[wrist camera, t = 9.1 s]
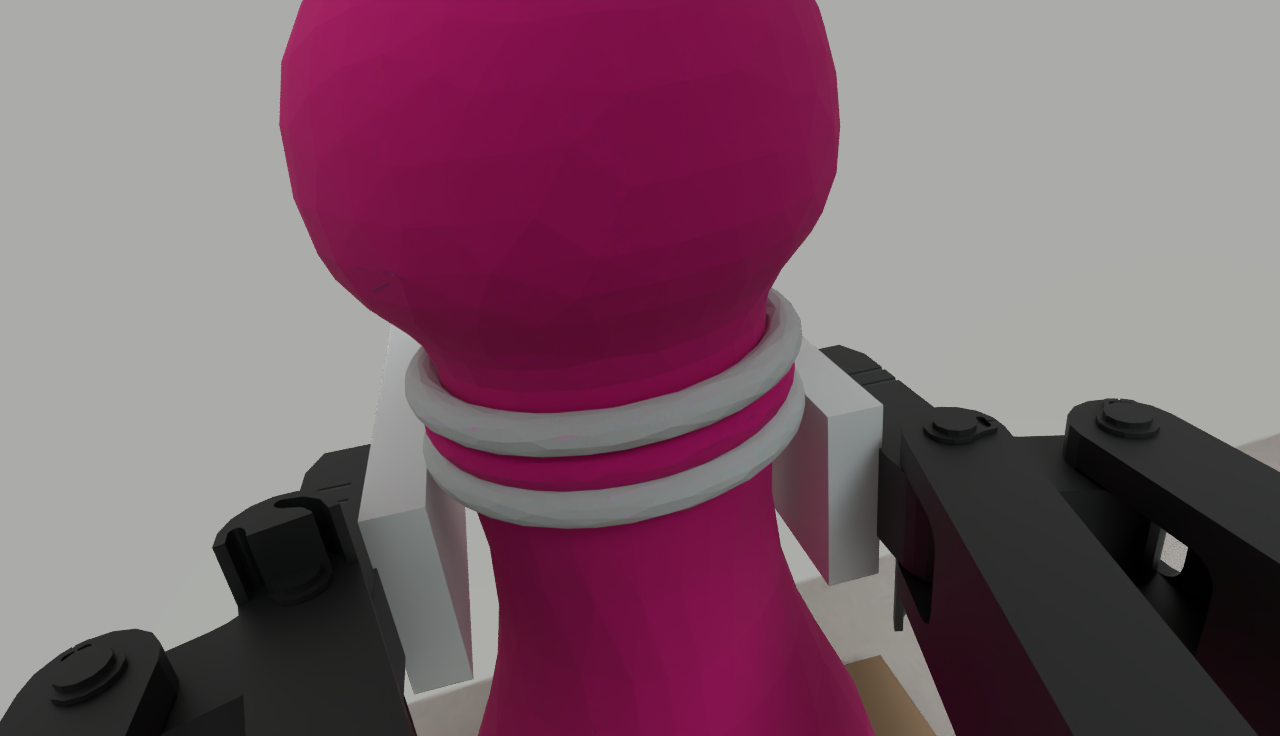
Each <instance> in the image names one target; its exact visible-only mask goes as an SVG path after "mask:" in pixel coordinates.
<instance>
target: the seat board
mask: <svg viewBox="0 0 1280 736" xmlns="http://www.w3.org/2000/svg"><path fill="white" fill-rule="evenodd" d="M844 666H845V667H846V669H847V671H848V672H849V674H850V676H851V677H852V679H853V681H854V682H855V685H856V687H857V690H858V692H859V695H860V697H861V700H862V703H863V705H864V708H865V710H866V713H867V715H868V718H869V720H870V723H871V726H872V728H873V731H874V733H875V736H936V734H935V733H934V732H933V730H932V729H931V727H930V726H929V724H928V723H927V721H926V720H925V719H924V717H923V716H922V714H921V713H920V711H919V710H918V709H917V707H916V706H915V704H914V703H913V701H912V700H911V698H910V697H909V696H908V694H907V693H906V691H905V690H904V688H903V687H902V686H901V684H900V683H899V681H898V680H897V678H896V677H895V676H894V674H893V673H892V671H891V670H890V668H889V667H888V665H887V664H886V663H885V661H884V660H883V658H882V657H881V655H879V656H875V657H872V658H868V659H865V660H861V661H858V662H854V663H851V664H847V665H844Z"/></svg>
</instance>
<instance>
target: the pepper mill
mask: <svg viewBox="0 0 1280 736" xmlns="http://www.w3.org/2000/svg"><path fill="white" fill-rule="evenodd" d="M280 93H281V94H280V123H279V125H280V131H281V136H282V141H283V146H284V151H285V156H286V162H287V167H288V171H289V177H290V182H291V187H292V193H293V198H294V200H295V202H296V205H297V207H298V210H299V212H300V214H301V216H302V219H303V221H304V223H305V226H306V228H307V230H308V232H309V235H310V237H311V240H312V242H313V244H314V247H315V249H316V251H317V253H318V255H319V257H320V258H321V260H322V261H323V262H324V264H325V265H326V267H327V268H328V270H329V271H330V273H331V274H332V275H333V277H334V278H335V280H337V281H338V282H339V283H340V284H341V285H342V286H343V287H344V288H345V289H347V290H348V291H349V292H350V293H351V294H352V295H354V297H355V298H357V299H358V300H359V301H360V302H361V303H362V304H363V305H364V306H366V307H367V308H368V309H369V310H371V311H372V312H374V313H376V314H377V315H378V316H380V317H381V318H383V319H385V320H386V321H388V322H389V323H391V324H392V325H394V326H395V327H397V328H399V329H400V330H402V331H403V332H405V333H406V334H408V335H409V336H411V337H412V338H413V339H414V340H415V341H417V342H418V343H419V344H420V345H421V347H420V348H419V350H418V351H417V352H416V354H415V355H414V356H413V358H412V359H411V361H410V364H409V366H408V368H407V370H406V375H405V396H406V398H407V401H408V404H409V406H410V407H411V409H412V410H413V412H414V414H415V415H416V417H417V418H418V419H419V420H420V421H421V422H422V423H423V424H424V425H425V430H426V431H425V434H424V442H423V454H424V458H425V462H426V466H427V469H428V471H429V472H430V474H431V475H432V477H433V479H434V480H435V482H436V483H437V485H438V486H439V487H440V488H441V489H442V490H443V491H444V492H445V493H446V494H447V495H448V496H449V497H451V498H453V499H454V500H456V501H457V502H459V503H460V504H462V505H463V506H465V507H467V508H470V509H472V510H474V511H476V512H477V513H478V516H479V519H480V521H481V524H482V527H483V530H484V532H485V535H486V538H487V541H488V543H489V546H490V551H491V557H492V564H493V570H494V576H495V582H496V588H497V595H498V600H499V631H498V635H499V637H498V655H497V660H496V665H495V671H494V676H493V681H492V686H491V692H490V695H489V699H488V702H487V706H486V709H485V713H484V716H483V720H482V723H481V727H480V730H479V734H478V736H875V733H874V731H873V728H872V726H871V723H870V720H869V718H868V715H867V713H866V710H865V708H864V705H863V703H862V700H861V697H860V695H859V692H858V690H857V687H856V685H855V682H854V681H853V679H852V677H851V676H850V674H849V672H848V671H847V669H846V667H845V666H844V664H843V663H842V661H841V660H840V658H839V657H838V655H837V653H836V652H835V650H834V649H833V647H832V646H831V644H830V643H829V641H828V639H827V638H826V636H825V635H824V633H823V632H822V630H821V629H820V627H819V625H818V624H817V622H816V621H815V619H814V617H813V616H812V614H811V612H810V610H809V609H808V607H807V605H806V604H805V602H804V600H803V598H802V597H801V595H800V593H799V591H798V590H797V588H796V585H795V583H794V580H793V577H792V575H791V572H790V570H789V567H788V564H787V562H786V559H785V556H784V554H783V551H782V548H781V545H780V538H779V532H778V526H777V520H776V514H775V507H774V501H773V495H772V461H774V460H775V459H776V458H777V457H778V456H779V454H780V453H781V452H782V451H783V450H784V449H785V448H786V447H787V446H788V445H789V443H790V442H791V440H792V439H793V437H794V436H795V434H796V433H797V431H798V428H799V426H800V423H801V420H802V417H803V413H804V408H805V392H804V387H803V383H802V380H801V377H800V375H799V373H798V371H797V369H796V368H795V362H794V361H795V359H796V357H797V356H798V354H799V351H800V347H801V344H802V330H801V321H800V318H799V316H798V314H797V313H796V311H795V309H794V308H793V306H792V304H791V303H790V302H789V301H788V300H787V299H786V298H784V296H783V295H781V294H780V293H779V292H778V291H776V290H775V289H773V288H771V287H772V285H773V283H774V282H775V280H776V278H777V276H778V275H779V273H780V271H781V269H782V268H783V267H784V265H785V264H786V263H787V262H788V260H789V259H790V258H791V256H792V255H793V254H794V253H795V252H796V250H797V249H798V247H800V245H801V244H802V243H803V241H804V240H805V239H806V238H807V236H808V235H809V234H810V233H811V231H812V229H813V228H814V226H815V224H816V223H817V221H818V219H819V217H820V215H821V214H822V212H823V209H824V206H825V203H826V200H827V198H828V195H829V192H830V189H831V187H832V183H833V181H834V178H835V175H836V171H837V158H838V145H839V132H840V119H839V104H838V92H837V77H836V71H835V66H834V62H833V59H832V54H831V50H830V46H829V42H828V39H827V35H826V31H825V27H824V23H823V20H822V16H821V13H820V10H819V7H818V5H817V3H816V1H815V0H303V1H302V3H301V5H300V8H299V11H298V14H297V17H296V20H295V23H294V26H293V29H292V32H291V35H290V38H289V41H288V44H287V47H286V50H285V53H284V56H283V59H282V63H281V92H280Z"/></svg>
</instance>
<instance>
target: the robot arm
mask: <svg viewBox="0 0 1280 736" xmlns="http://www.w3.org/2000/svg"><path fill="white" fill-rule="evenodd" d="M420 347H421V345H420V344H419V343H418V342H417V341H415V340H414V339H413V338H412V337H411V336H409V335H408V334H406V333H405V332H403V331H402V330H400V329H399V328H397V327H395V326H394V325H392V324H391V329H390V335H389V341H388V347H387V353H386V359H385V364H384V370H383V376H382V382H381V388H380V394H379V400H378V405H377V411H376V417H375V423H374V429H373V435H372V441H371V444H368V445H363V446H358V447H354V448H349V449H344V450H339V451H334V452H330V453H325V454H324V455H323V456H322V457H321V458H320V459H319V460H318V461H317V462H316V463H315V464H314V465H313V466H312V467H311V468H310V469H309V470H308V471H307V472H306V473H305V477H304V480H303V483H302V486H301V489H300V491H296V492H292V493H287V494H283V495H279V496H275V497H272V498H270V499H267V500H265V501H263V502H260V503H258V504H255V505H253V506H251V507H249V508H248V509H246V510H245V511H243V512H242V513H240V514H239V515H237V516H235V517H234V518H233V519H231V520H230V521H229V522H228V523H227V524H226V525H225V526H224V527H223V529H221V530H220V531H219V533H218V534H217V536H216V539H215V541H214V545H213V547H212V548H213V551H214V553H215V555H216V557H217V560H218V562H219V564H220V566H221V569H222V571H223V573H224V576H225V578H226V580H227V583H228V585H229V587H230V590H231V592H232V594H233V596H234V599H235V601H236V603H237V605H238V613H239V616H237V617H236V618H234V619H233V620H232V621H230V622H228V623H227V624H225V625H223V626H221V627H219V628H217V629H215V630H213V631H211V632H209V633H207V634H204V635H202V636H200V637H198V638H195V639H193V640H191V641H188V642H186V643H184V644H182V645H179V646H177V647H175V648H172V649H170V650H168V651H166V652H165V651H164V649H163V647H162V645H161V643H160V642H159V641H158V639H157V638H156V637H155V635H154V634H153V633H152V632H147V631H143V630H139V629H130V630H121V631H113V632H110V633H107V634H104V635H101V636H98V637H95V638H92V639H89V640H86V641H84V642H82V643H80V644H77V645H75V647H74V648H72V647H71V648H70V649H68V650H66V651H65V652H63V653H62V654H60V655H59V656H57V657H56V658H55V659H53V660H52V661H51V662H49V663H48V664H47V665H46V666H45V667H43V668H42V669H40V670H39V671H38V672H37V673H35V674H34V675H33V676H32V678H31V679H30V680H29V681H28V682H27V683H26V685H25V686H24V687H23V688H22V689H21V691H20V692H19V693H18V694H17V695H16V697H15V699H14V700H13V702H12V703H11V705H10V707H9V708H8V710H7V712H6V713H5V715H4V716H3V718H2V720H1V721H0V736H417V733H416V730H415V727H414V724H413V720H412V717H411V714H410V711H409V708H408V705H407V702H406V700H405V697H404V679H405V678H404V677H405V668H406V671H407V674H408V677H409V680H410V683H411V686H412V689H413V692H414V694H418V693H421V692H425V691H429V690H433V689H437V688H441V687H444V686H448V685H452V684H456V683H460V682H463V681H467V680H471V679H473V662H472V642H471V621H470V600H469V582H468V581H469V579H468V560H467V541H466V540H467V538H466V518H465V506H463V505H462V504H460V503H459V502H457V501H456V500H454V499H453V498H451V497H449V496H448V495H447V494H446V493H445V492H444V491H443V490H442V489H441V488H440V487H439V486H438V485H437V483H436V482H435V480H434V479H433V477H432V475H431V474H430V472H429V471H428V469H427V466H426V462H425V458H424V454H423V442H424V434H425V431H426V430H425V425H424V424H423V423H422V422H421V421H420V420H419V419H418V418H417V417H416V415H415V414H414V412H413V410H412V409H411V407H410V406H409V404H408V401H407V398H406V396H405V375H406V370H407V368H408V366H409V364H410V361H411V359H412V358H413V356H414V355H415V354H416V352H417V351H418V350H419V348H420ZM794 362H795V368H796V369H797V371H798V373H799V375H800V377H801V380H802V383H803V387H804V392H805V408H804V413H803V417H802V420H801V423H800V426H799V428H798V431H797V433H796V434H795V436H794V437H793V439H792V440H791V442H790V443H789V445H788V446H787V447H786V448H785V449H784V450H783V451H782V452H781V453H780V454H779V456H778V457H777V458H776V459H775V460H774V461H772V495H773V501H774V507H775V509H776V510H777V512H778V513H779V514H780V516H781V517H782V519H783V520H784V522H785V523H786V525H787V526H788V527H789V529H790V530H791V532H792V533H793V535H794V536H795V537H796V539H797V540H798V542H799V543H800V545H801V546H802V548H803V549H804V551H805V552H806V553H807V555H808V556H809V558H810V559H811V561H812V562H813V563H814V565H815V566H816V568H817V569H818V570H819V572H820V574H821V575H822V577H823V578H824V579H825V581H826V582H827V584H828V585H829V586H831V585H835V584H839V583H842V582H846V581H850V580H854V579H858V578H862V577H865V576H869V575H873V574H877V573H878V568H879V539H880V540H881V541H882V542H883V544H884V545H885V546H886V547H887V548H888V549H889V551H890V552H891V553H892V554H893V555H894V557H895V558H896V567H895V591H894V616H893V620H894V630H895V631H903V617H904V615H905V614H907V616H908V619H909V621H910V624H911V626H912V629H913V631H914V634H915V636H916V639H917V641H918V643H919V646H920V648H921V651H922V653H923V656H924V658H925V661H926V663H927V665H928V668H929V670H930V673H931V675H932V678H933V680H934V683H935V685H936V688H937V690H938V692H939V695H940V697H941V700H942V702H943V705H944V707H945V710H946V712H947V715H948V717H949V719H950V722H951V724H952V727H953V729H954V732H955V734H956V736H1280V472H1278V471H1277V470H1275V469H1273V468H1271V467H1269V466H1267V465H1265V464H1264V463H1262V462H1260V461H1258V460H1256V459H1254V458H1252V457H1251V456H1249V455H1247V454H1245V453H1243V452H1241V451H1240V450H1238V449H1236V448H1234V447H1232V446H1230V445H1228V444H1227V443H1225V442H1223V441H1221V440H1219V439H1217V438H1215V437H1213V436H1212V435H1210V434H1208V433H1206V432H1204V431H1202V430H1201V429H1199V428H1197V427H1195V426H1193V425H1191V424H1189V423H1188V422H1186V421H1184V420H1182V419H1180V418H1178V417H1176V416H1174V415H1173V414H1171V413H1168V412H1166V411H1163V410H1161V409H1159V408H1156V407H1154V406H1151V405H1146V404H1142V403H1137V402H1135V401H1133V400H1128V399H1120V400H1118V399H1104V400H1095V401H1087V402H1085V403H1082V404H1080V405H1077V406H1075V407H1074V408H1073V409H1072V410H1071V411H1070V413H1069V414H1068V416H1067V424H1066V430H1065V435H1060V436H1030V437H1013V436H1012V435H1011V433H1010V432H1009V431H1008V430H1007V429H1006V427H1005V426H1004V425H1002V424H1001V423H1000V422H998V421H997V420H996V419H994V418H993V417H991V416H988V415H986V414H983V413H981V412H978V411H974V410H969V409H964V408H958V407H935V408H934V407H933V406H932V405H930V404H929V403H928V402H926V401H925V400H924V399H923V398H921V397H920V396H919V395H917V394H916V393H914V392H913V391H912V390H911V389H910V388H908V387H907V386H906V385H904V384H903V383H902V382H901V381H899V380H895V377H894V376H892V375H891V374H890V373H889V372H887V371H886V370H882V367H881V366H880V365H878V364H877V363H876V362H875V361H873V360H872V359H871V358H869V357H868V356H867V355H865V354H864V353H861V352H858V351H855V350H852V349H849V348H847V347H844V346H841V345H836V346H831V347H827V348H822V349H817V348H816V347H815V346H814V345H812V344H811V343H810V342H809V341H808V340H806V339H805V338H804V337H803V336H802V344H801V347H800V351H799V354H798V356H797V357H796V359H795V361H794ZM1166 532H1168V533H1169V534H1170V535H1172V536H1173V537H1175V538H1176V539H1177V540H1179V541H1180V542H1182V543H1183V544H1184V545H1186V546H1187V547H1188V551H1187V555H1186V559H1185V563H1184V567H1183V569H1182V571H1181V572H1179V571H1177V570H1175V569H1173V568H1171V567H1170V566H1168V565H1167V564H1166V563H1164V562H1163V561H1162V560H1160V558H1161V554H1162V549H1163V545H1164V540H1165V536H1166Z"/></svg>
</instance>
